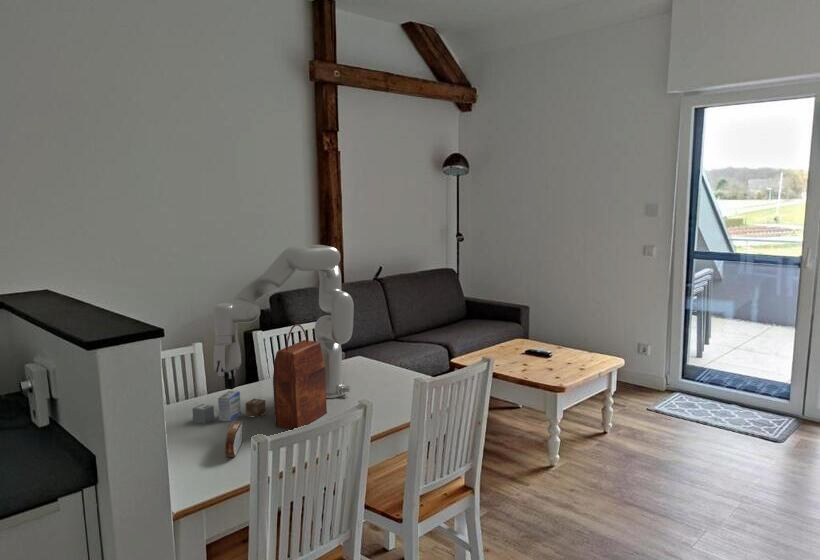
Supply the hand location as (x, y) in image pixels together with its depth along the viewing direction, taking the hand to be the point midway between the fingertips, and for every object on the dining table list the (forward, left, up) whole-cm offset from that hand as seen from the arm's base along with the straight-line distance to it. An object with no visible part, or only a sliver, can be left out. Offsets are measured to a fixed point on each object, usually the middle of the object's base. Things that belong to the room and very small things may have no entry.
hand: (230, 388), depth 209 cm
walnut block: (-7, -5, -11) cm, 14 cm away
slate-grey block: (+7, +6, -11) cm, 14 cm away
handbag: (-25, -7, -11) cm, 28 cm away
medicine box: (0, 0, -11) cm, 11 cm away
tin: (-19, +23, -11) cm, 32 cm away
